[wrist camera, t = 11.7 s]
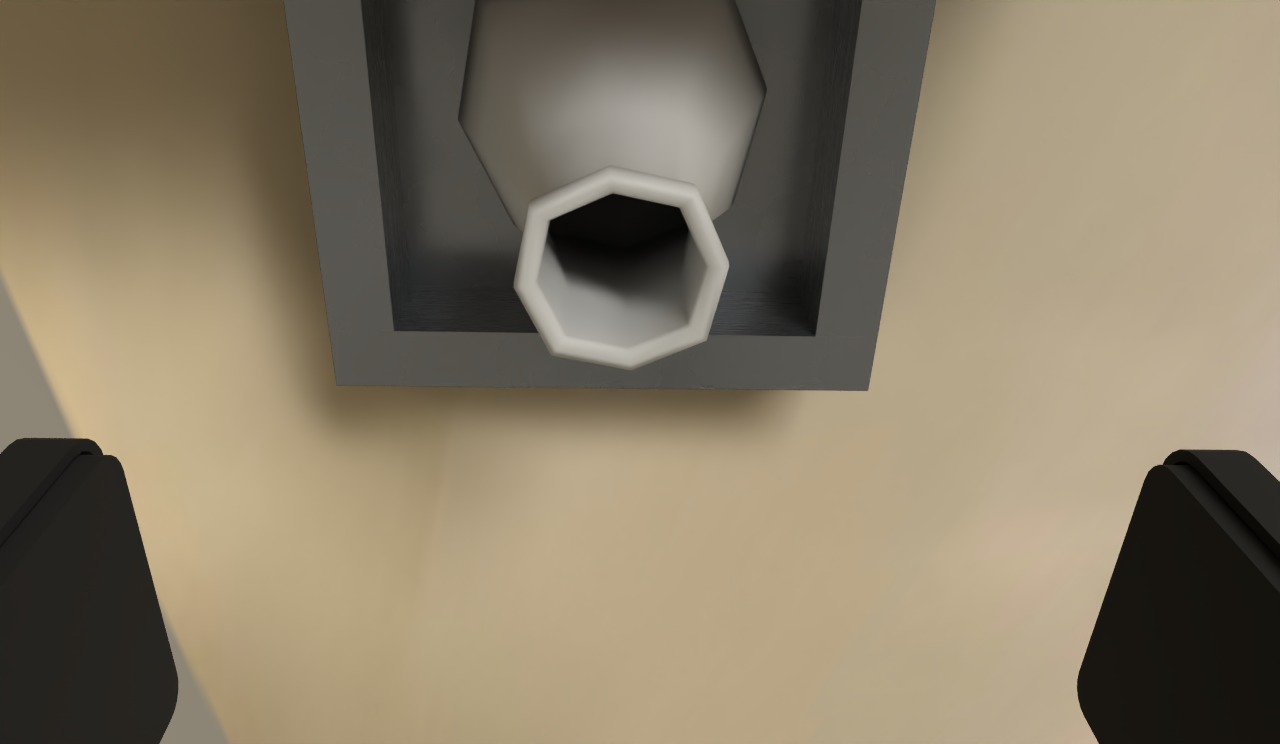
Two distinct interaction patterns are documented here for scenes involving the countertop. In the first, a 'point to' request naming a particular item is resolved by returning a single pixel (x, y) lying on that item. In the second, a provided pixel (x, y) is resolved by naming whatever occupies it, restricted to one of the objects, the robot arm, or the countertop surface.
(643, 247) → the flask
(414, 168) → the cup bracket
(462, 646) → the countertop surface
